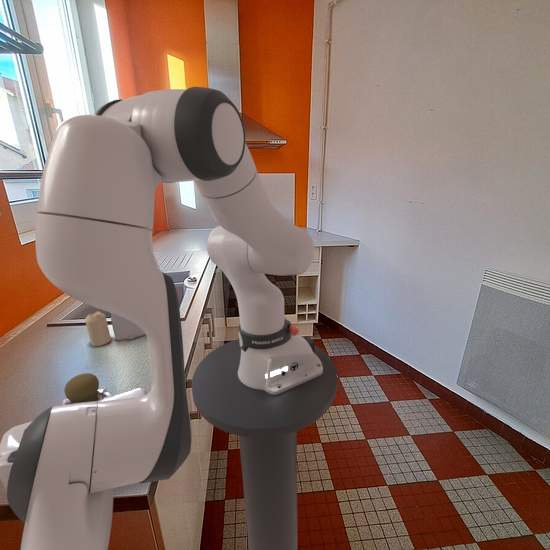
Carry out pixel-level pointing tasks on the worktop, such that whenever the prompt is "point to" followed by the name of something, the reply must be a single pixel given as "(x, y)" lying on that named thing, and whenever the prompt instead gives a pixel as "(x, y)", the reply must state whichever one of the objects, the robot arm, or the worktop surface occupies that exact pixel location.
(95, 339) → the candle
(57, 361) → the worktop surface
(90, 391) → the cork
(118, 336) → the grey tall flat block
